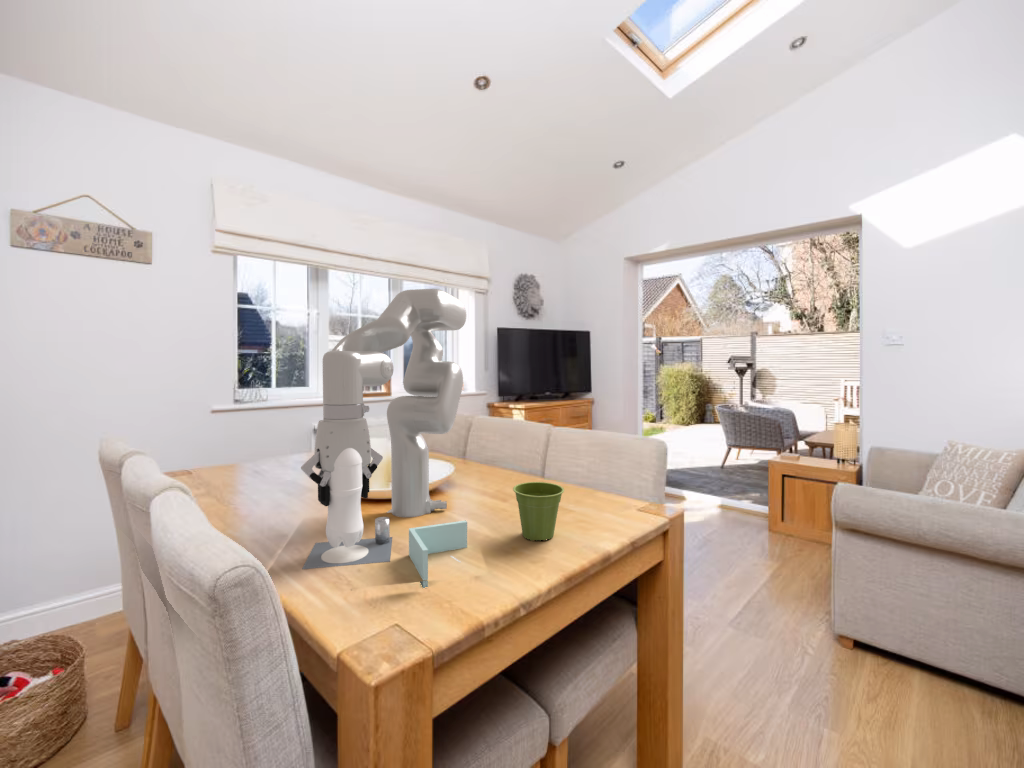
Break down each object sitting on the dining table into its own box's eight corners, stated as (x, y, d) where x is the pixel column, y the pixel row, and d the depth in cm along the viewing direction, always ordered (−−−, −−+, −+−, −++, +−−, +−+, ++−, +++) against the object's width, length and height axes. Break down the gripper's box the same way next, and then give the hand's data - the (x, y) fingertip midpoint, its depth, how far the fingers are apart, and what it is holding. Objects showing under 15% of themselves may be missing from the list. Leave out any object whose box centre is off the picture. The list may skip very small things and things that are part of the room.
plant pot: (505, 541, 104) (505, 492, 104) (523, 524, 115) (523, 480, 115) (555, 549, 100) (556, 498, 99) (569, 531, 111) (569, 484, 110)
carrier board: (392, 543, 103) (392, 536, 103) (390, 568, 90) (390, 560, 90) (315, 549, 99) (315, 542, 99) (302, 576, 86) (301, 568, 86)
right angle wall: (423, 591, 82) (422, 550, 82) (409, 565, 93) (408, 528, 93) (486, 579, 87) (486, 540, 87) (465, 555, 98) (465, 520, 98)
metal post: (389, 538, 101) (389, 516, 101) (389, 543, 99) (389, 520, 98) (375, 539, 101) (375, 517, 101) (374, 545, 98) (374, 521, 98)
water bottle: (371, 541, 94) (369, 419, 93) (341, 553, 88) (339, 423, 87) (348, 534, 98) (346, 417, 97) (318, 545, 92) (316, 420, 91)
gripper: (375, 408, 101) (376, 489, 101) (291, 414, 89) (292, 505, 90) (392, 411, 95) (392, 496, 96) (304, 417, 83) (306, 514, 84)
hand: (344, 500), depth 93 cm, fingers closed on water bottle, 7 cm apart
